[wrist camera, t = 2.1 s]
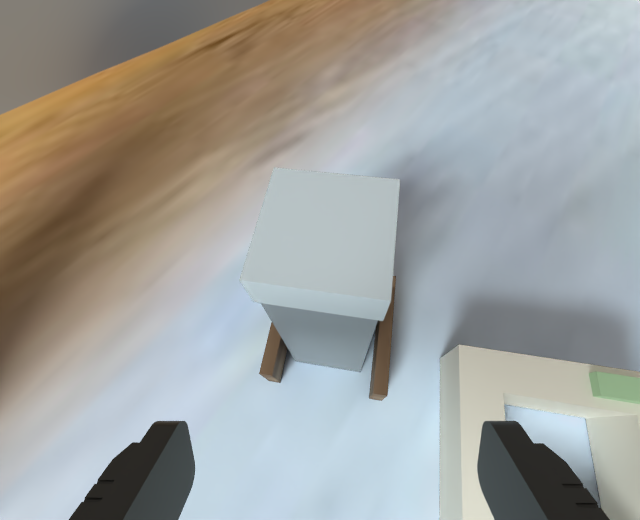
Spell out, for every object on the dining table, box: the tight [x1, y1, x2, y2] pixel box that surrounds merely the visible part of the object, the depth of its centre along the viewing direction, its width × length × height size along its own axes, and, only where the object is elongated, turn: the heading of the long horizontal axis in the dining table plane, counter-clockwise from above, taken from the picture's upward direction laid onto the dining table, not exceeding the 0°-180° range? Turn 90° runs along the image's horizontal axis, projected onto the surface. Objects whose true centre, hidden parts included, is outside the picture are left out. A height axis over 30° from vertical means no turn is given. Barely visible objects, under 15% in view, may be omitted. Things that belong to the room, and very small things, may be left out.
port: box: [439, 345, 640, 520], centre depth 17 cm, size 11×11×5 cm
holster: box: [259, 276, 396, 400], centre depth 22 cm, size 8×8×3 cm
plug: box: [239, 168, 400, 372], centre depth 18 cm, size 5×5×14 cm
